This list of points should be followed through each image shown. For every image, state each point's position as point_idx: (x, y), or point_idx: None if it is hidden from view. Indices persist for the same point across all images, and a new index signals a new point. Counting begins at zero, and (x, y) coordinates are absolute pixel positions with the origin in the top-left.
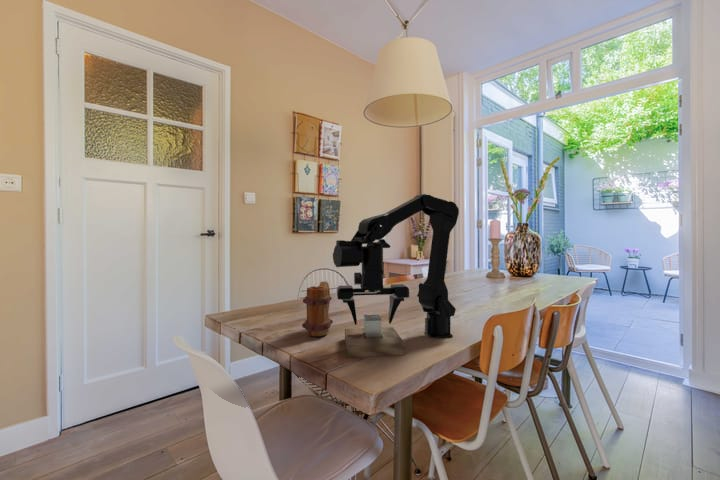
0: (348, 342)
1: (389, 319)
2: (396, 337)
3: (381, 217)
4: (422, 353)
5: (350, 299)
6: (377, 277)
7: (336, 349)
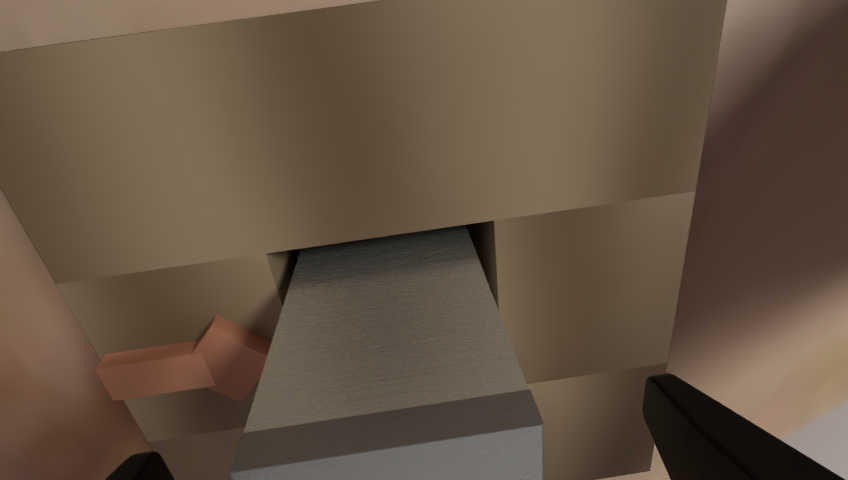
0: None
1: (673, 469)
2: (627, 373)
3: None
4: (733, 368)
5: None
6: None
7: (85, 337)
